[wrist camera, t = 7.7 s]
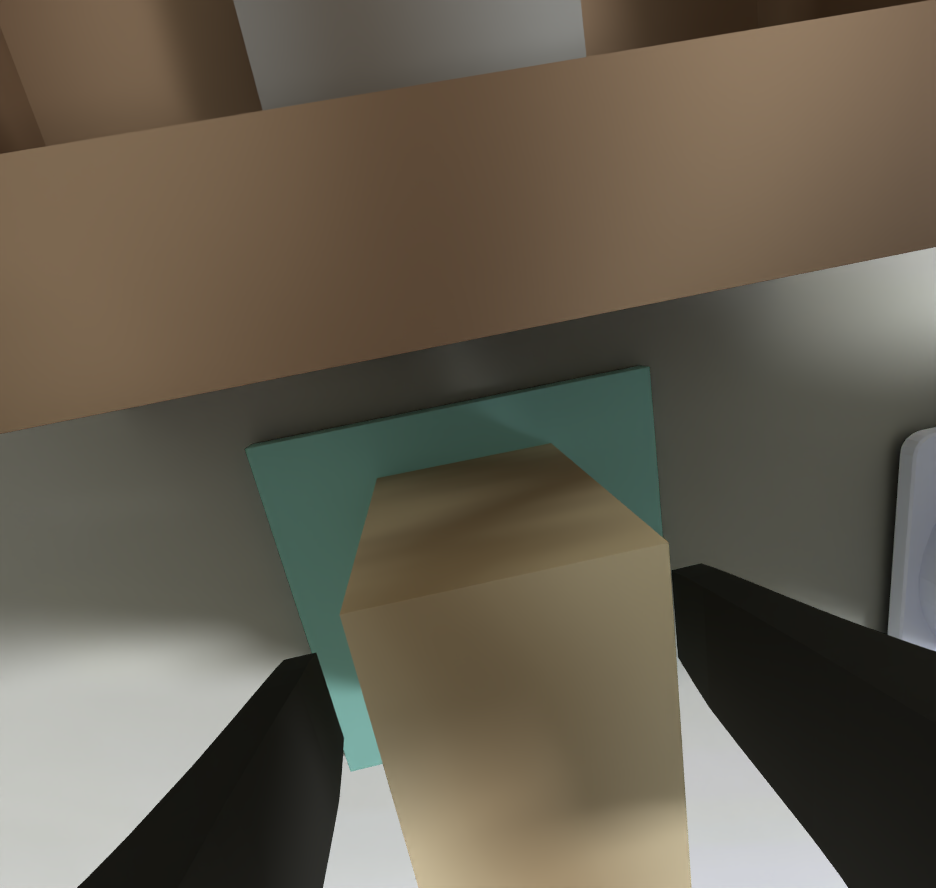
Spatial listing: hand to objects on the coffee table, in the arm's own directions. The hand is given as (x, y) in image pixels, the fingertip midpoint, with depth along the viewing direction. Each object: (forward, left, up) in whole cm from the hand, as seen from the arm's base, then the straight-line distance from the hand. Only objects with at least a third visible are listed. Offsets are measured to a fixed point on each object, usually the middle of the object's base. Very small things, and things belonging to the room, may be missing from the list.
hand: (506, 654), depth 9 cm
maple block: (0, 0, -2) cm, 2 cm away
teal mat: (0, 0, -3) cm, 3 cm away
